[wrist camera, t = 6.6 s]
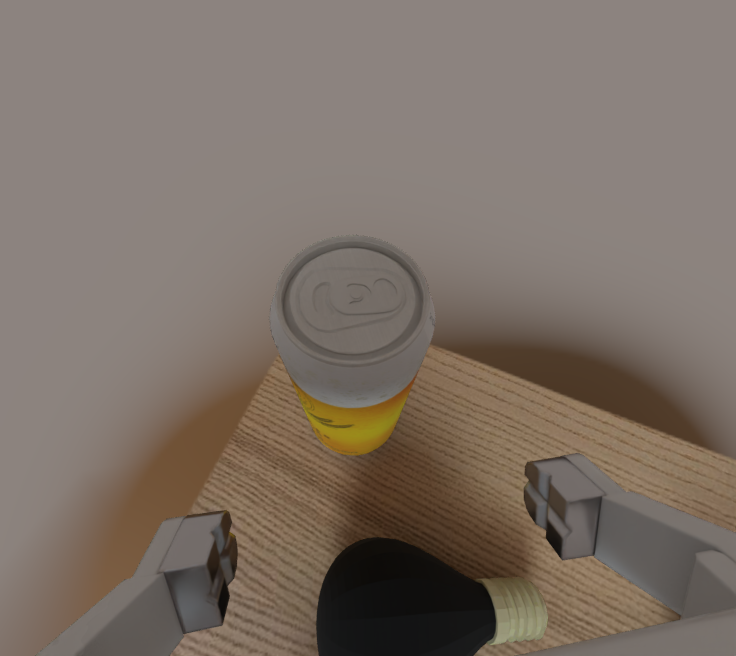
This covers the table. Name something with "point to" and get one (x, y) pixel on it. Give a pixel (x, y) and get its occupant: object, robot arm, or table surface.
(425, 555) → the light bulb
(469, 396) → the table surface
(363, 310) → the beer can
